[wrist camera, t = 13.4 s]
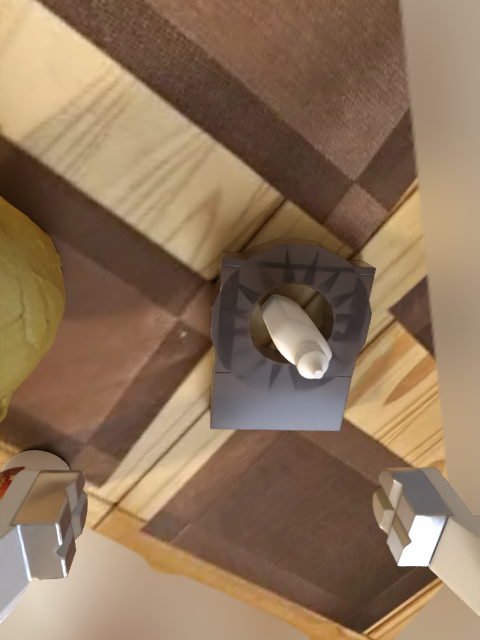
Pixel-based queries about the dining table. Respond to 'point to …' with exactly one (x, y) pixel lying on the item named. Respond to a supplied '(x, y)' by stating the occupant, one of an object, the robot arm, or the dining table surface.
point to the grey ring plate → (270, 365)
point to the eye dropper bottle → (296, 336)
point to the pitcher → (26, 298)
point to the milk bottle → (7, 473)
